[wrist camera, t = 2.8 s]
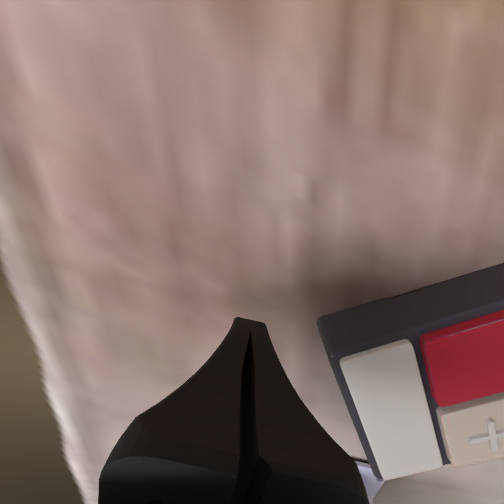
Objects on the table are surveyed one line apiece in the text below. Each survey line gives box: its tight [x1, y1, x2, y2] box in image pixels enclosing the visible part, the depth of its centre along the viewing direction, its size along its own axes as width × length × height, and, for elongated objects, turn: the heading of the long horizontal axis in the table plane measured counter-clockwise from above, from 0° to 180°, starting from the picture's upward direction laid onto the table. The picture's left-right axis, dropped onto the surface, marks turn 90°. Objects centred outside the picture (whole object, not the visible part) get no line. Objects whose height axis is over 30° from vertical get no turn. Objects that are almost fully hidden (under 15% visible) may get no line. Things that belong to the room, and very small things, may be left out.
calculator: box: [317, 263, 504, 480], centre depth 17 cm, size 11×4×15 cm
